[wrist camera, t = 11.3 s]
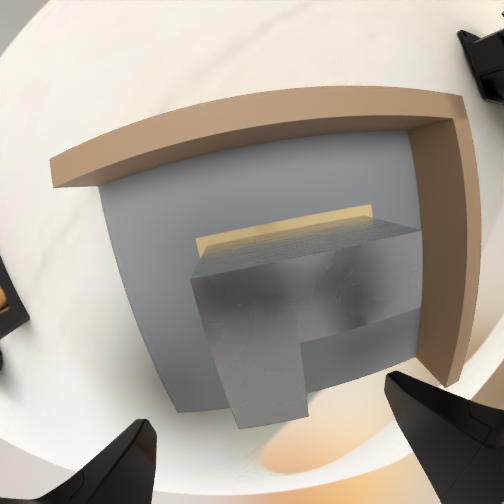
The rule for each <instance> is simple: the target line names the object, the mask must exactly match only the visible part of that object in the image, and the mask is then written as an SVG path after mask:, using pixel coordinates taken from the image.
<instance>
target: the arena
mask: <svg viewBox="0 0 504 504" xmlns="http://www.w3.org/2000/svg"><path fill="white" fill-rule="evenodd" d="M50 167H51V175H52V182H53V188H61V187H87V186H99V192H100V197H101V202H102V206H103V211H104V216H105V220H106V224H107V228H108V232H109V236H110V240H111V244H112V248H113V251H114V255H115V259H116V262H117V265H118V269H119V272H120V275H121V279H122V282H123V285H124V288H125V291H126V294H127V297H128V300H129V303H130V305H131V308H132V311H133V314H134V316H135V319H136V322H137V324H138V327H139V329H140V332H141V335H142V337H143V339H144V342H145V344H146V347H147V349H148V351H149V354H150V356H151V358H152V361H153V363H154V365H155V367H156V370H157V372H158V374H159V376H160V378H161V380H162V382H163V384H164V386H165V389H166V391H167V393H168V395H169V397H170V398H171V400H172V402H173V404H174V406H175V408H176V410H177V412H178V413H179V412H194V411H206V410H215V409H224V408H231V407H230V405H229V402H228V399H227V397H226V394H225V391H224V388H223V385H222V382H221V380H220V377H219V374H218V371H217V368H216V365H215V362H214V359H213V356H212V353H211V350H210V347H209V343H208V340H207V337H206V334H205V331H204V327H203V324H202V321H201V317H200V314H199V311H198V307H197V304H196V300H195V297H194V293H193V289H192V286H191V282H190V278H191V276H192V274H193V272H194V270H195V268H196V266H197V264H198V262H199V260H200V258H201V256H202V254H203V252H204V251H205V249H206V247H207V246H208V245H213V244H218V243H223V242H228V241H233V240H238V239H243V238H248V237H253V236H258V235H263V234H268V233H273V232H278V231H283V230H288V229H293V228H299V227H304V226H309V225H314V224H320V223H325V222H330V221H336V220H341V219H346V218H352V217H357V216H363V215H364V216H369V217H373V218H377V219H381V220H385V221H388V222H392V223H396V224H400V225H404V226H407V227H411V228H414V229H418V230H422V253H423V273H422V300H421V307H419V308H416V309H413V310H411V311H408V312H405V313H402V314H399V315H396V316H394V317H391V318H388V319H385V320H381V321H378V322H375V323H372V324H369V325H366V326H362V327H359V328H355V329H352V330H349V331H345V332H341V333H338V334H334V335H330V336H327V337H323V338H319V339H315V340H311V341H306V342H302V343H300V348H301V356H302V364H303V372H304V380H305V388H306V393H310V392H314V391H318V390H321V389H325V388H329V387H332V386H335V385H339V384H342V383H346V382H349V381H352V380H355V379H358V378H361V377H364V376H367V375H370V374H373V373H376V372H378V371H381V370H384V369H386V368H389V367H392V366H394V365H397V364H399V363H401V362H404V361H407V360H409V359H411V358H414V357H416V358H417V359H418V360H419V361H420V362H421V363H422V364H423V365H424V366H425V367H426V368H427V369H428V370H429V371H430V372H431V373H432V375H433V376H434V377H435V378H436V379H437V380H438V381H439V382H440V383H441V384H442V385H443V386H444V388H447V387H449V386H450V385H452V384H454V383H455V382H457V381H459V378H460V375H461V371H462V368H463V364H464V360H465V357H466V353H467V348H468V344H469V340H470V335H471V330H472V325H473V320H474V314H475V308H476V301H477V293H478V283H479V274H480V259H481V205H480V191H479V180H478V172H477V164H476V157H475V151H474V145H473V140H472V135H471V130H470V126H469V121H468V117H467V113H466V109H465V105H464V102H463V98H462V96H459V95H453V94H448V93H441V92H435V91H427V90H419V89H410V88H398V87H382V86H323V87H306V88H294V89H284V90H275V91H267V92H260V93H253V94H247V95H241V96H235V97H230V98H225V99H220V100H215V101H210V102H206V103H201V104H197V105H193V106H189V107H185V108H181V109H178V110H174V111H170V112H167V113H163V114H160V115H157V116H154V117H150V118H147V119H144V120H141V121H138V122H135V123H132V124H130V125H127V126H124V127H121V128H119V129H116V130H113V131H111V132H108V133H106V134H103V135H101V136H98V137H96V138H93V139H91V140H89V141H87V142H84V143H82V144H80V145H78V146H75V147H73V148H71V149H69V150H67V151H65V152H63V153H61V154H59V155H57V156H55V157H53V158H51V159H50Z"/></svg>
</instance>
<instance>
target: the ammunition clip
mask: <svg viewBox="0 0 504 504" xmlns="http://www.w3.org/2000/svg"><path fill="white" fill-rule="evenodd" d="M28 320H29V315H28V313H27V311H26V309H25V307H24V305H23V304H22V302H21V300H20V298H19V296H18V294H17V292H16V290H15V288H14V286H13V284H12V281H11V279H10V277H9V275H8V273H7V270H6V268H5V266H4V263H3V261H2V258H1V256H0V340H1V339H2V338H3V337H5V336H6V335H7V334H9V333H10V332H12V331H13V330H15V329H16V328H18V327H19V326H21V325H22V324H24V323H25V322H27V321H28Z"/></svg>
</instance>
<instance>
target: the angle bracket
mask: <svg viewBox="0 0 504 504" xmlns="http://www.w3.org/2000/svg"><path fill="white" fill-rule="evenodd" d="M422 273H423V253H422V230H418V229H414V228H411V227H407V226H404V225H400V224H396V223H392V222H388V221H385V220H381V219H377V218H373V217H369V216H364V215H363V216H357V217H352V218H346V219H341V220H336V221H330V222H325V223H320V224H314V225H309V226H304V227H299V228H293V229H288V230H283V231H278V232H273V233H268V234H263V235H258V236H253V237H248V238H243V239H238V240H233V241H228V242H223V243H218V244H213V245H208V246H207V247H206V249H205V251H204V252H203V254H202V256H201V258H200V260H199V262H198V264H197V266H196V268H195V270H194V272H193V274H192V276H191V278H190V282H191V286H192V289H193V293H194V297H195V300H196V304H197V307H198V311H199V314H200V317H201V321H202V324H203V327H204V331H205V334H206V337H207V340H208V343H209V347H210V350H211V353H212V356H213V359H214V362H215V365H216V368H217V371H218V374H219V377H220V380H221V382H222V385H223V388H224V391H225V394H226V397H227V399H228V402H229V405H230V407H231V410H232V413H233V415H234V418H235V421H236V423H237V426H238V428H239V429H244V428H251V427H258V426H264V425H270V424H275V423H281V422H286V421H290V420H295V419H300V418H304V417H308V416H309V415H308V406H307V397H306V388H305V380H304V372H303V364H302V356H301V348H300V343H302V342H306V341H311V340H315V339H319V338H323V337H327V336H330V335H334V334H338V333H341V332H345V331H349V330H352V329H355V328H359V327H362V326H366V325H369V324H372V323H375V322H378V321H381V320H385V319H388V318H391V317H394V316H396V315H399V314H402V313H405V312H408V311H411V310H413V309H416V308H419V307H421V300H422Z"/></svg>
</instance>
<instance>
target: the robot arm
mask: <svg viewBox="0 0 504 504" xmlns="http://www.w3.org/2000/svg"><path fill="white" fill-rule="evenodd" d="M502 15H503V17H504V11H503V13H502ZM458 34H459V37H460V39H461V41H462V43H463V45H464V48H465V50H466V52H467V55H468V57H469V60H470V62H471V65H472V68H473V70H474V73H475V76H476V79H477V82H478V85H479V88H480V91H481V94H482V96H483V98H484V99H485V100H487V101H491V102H494V103H498V104H501V105H504V29H502V30H499V31H497V32H494V33H492V34H490V35H487V36H485V37H483V38H479V37H477V36H475V35H473V34H471V33H468V32H466V31H464V30H460V31H458ZM384 391H385V395H386V397H387V400H388V402H389V404H390V407H391V409H392V411H393V413H394V416H395V419H396V421H397V423H398V425H399V427H400V429H401V431H402V432H403V434H404V436H405V437H406V439H407V441H408V443H409V444H410V446H411V448H412V450H413V451H414V453H415V455H416V457H417V459H418V460H419V462H420V464H421V466H422V468H423V469H424V471H425V473H426V475H427V476H428V479H429V480H430V482H431V484H432V486H433V488H434V490H435V492H436V494H437V495H438V497H439V499H440V501H441V503H442V504H504V410H501V409H496V408H492V407H489V406H485V405H482V404H479V403H476V402H473V401H471V400H468V401H467V399H465V398H463V397H460V396H457V395H455V394H452V393H450V392H447V391H445V390H442V389H440V388H437V387H435V386H432V385H430V384H427V383H425V382H423V381H420V380H418V379H415V378H413V377H411V376H408V375H406V374H404V373H401V372H399V371H393V372H391V373H388V374H387V375H386V380H385V388H384ZM156 448H157V434H156V431H155V430H154V428H153V427H152V425H151V424H150V422H149V421H148V420H147V419H136V420H135V421H134V422H133V423H132V424H131V425H130V426H129V427H128V428H127V429H125V430H124V431H123V432H122V433H121V434H120V435H119V436H118V437H117V438H116V439H115V440H113V441H112V442H111V443H110V444H109V445H108V446H107V447H106V448H105V449H103V450H102V451H101V452H100V453H99V454H98V455H97V456H95V457H94V458H93V459H92V460H91V461H90V462H89V463H87V464H86V465H85V466H84V467H83V469H80V470H79V471H78V472H77V473H76V474H75V475H73V476H72V477H71V478H70V479H68V480H67V481H65V482H64V483H62V484H61V485H60V486H58V487H57V488H55V489H53V490H52V491H50V492H49V493H47V494H46V495H44V496H42V497H40V498H37V499H31V500H25V499H10V498H1V497H0V504H151V500H152V493H153V485H154V478H155V471H156Z"/></svg>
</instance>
